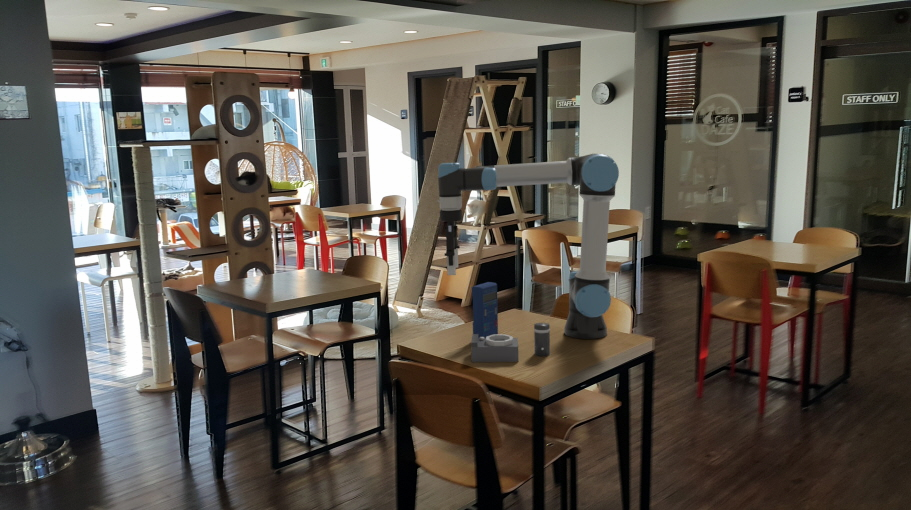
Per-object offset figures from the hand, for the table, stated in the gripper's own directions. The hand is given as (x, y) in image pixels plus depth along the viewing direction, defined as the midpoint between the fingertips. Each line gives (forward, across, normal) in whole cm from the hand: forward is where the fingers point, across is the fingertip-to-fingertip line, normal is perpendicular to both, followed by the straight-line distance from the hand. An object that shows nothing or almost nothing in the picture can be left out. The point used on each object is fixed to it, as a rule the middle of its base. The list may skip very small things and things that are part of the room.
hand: (453, 271), depth 241 cm
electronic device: (+27, -8, +10) cm, 30 cm away
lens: (+27, +10, +29) cm, 41 cm away
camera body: (+27, +13, +14) cm, 33 cm away
